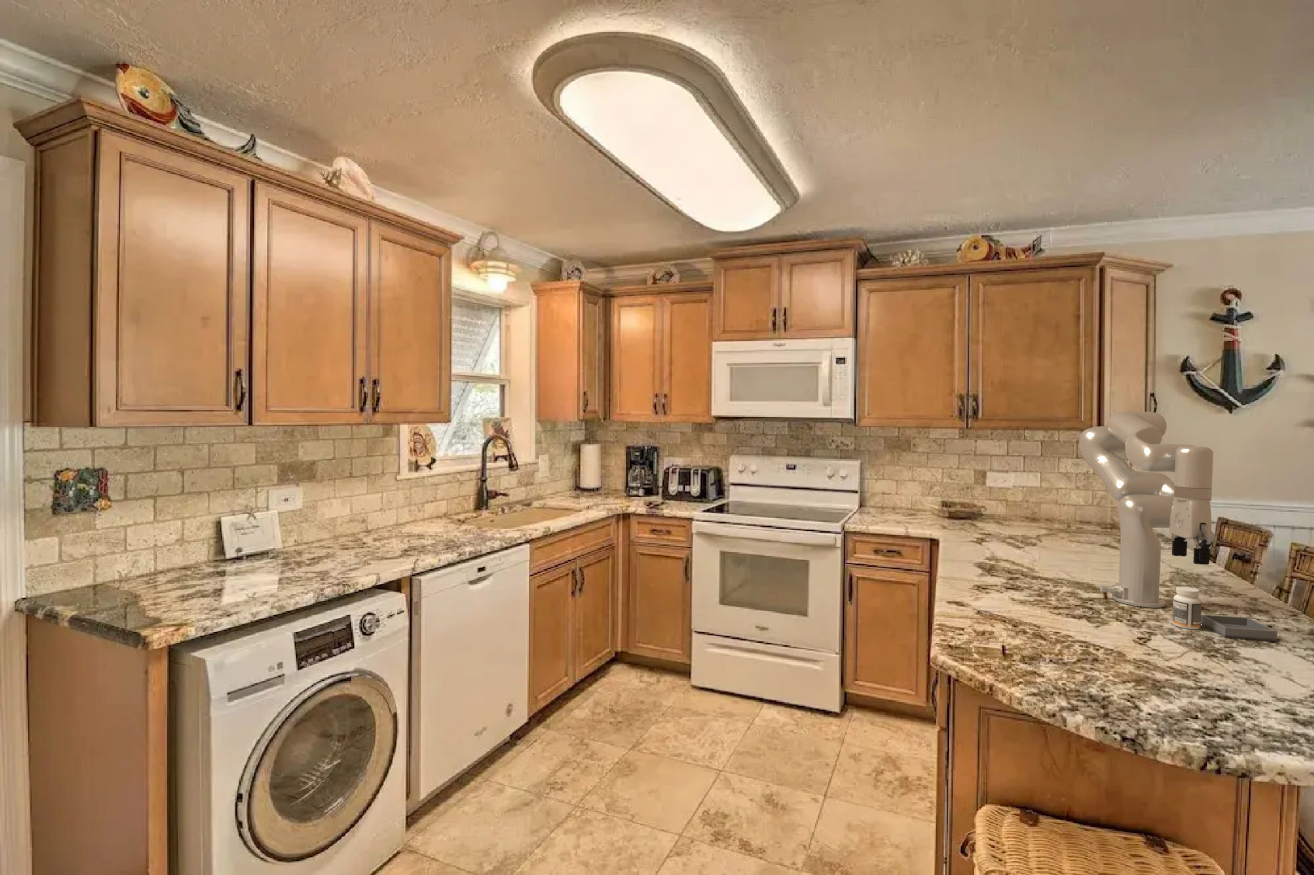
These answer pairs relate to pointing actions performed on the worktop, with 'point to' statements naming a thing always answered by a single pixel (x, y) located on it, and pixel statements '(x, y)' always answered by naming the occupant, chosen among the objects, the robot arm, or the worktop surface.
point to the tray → (1238, 628)
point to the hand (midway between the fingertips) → (1189, 559)
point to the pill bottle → (1187, 608)
